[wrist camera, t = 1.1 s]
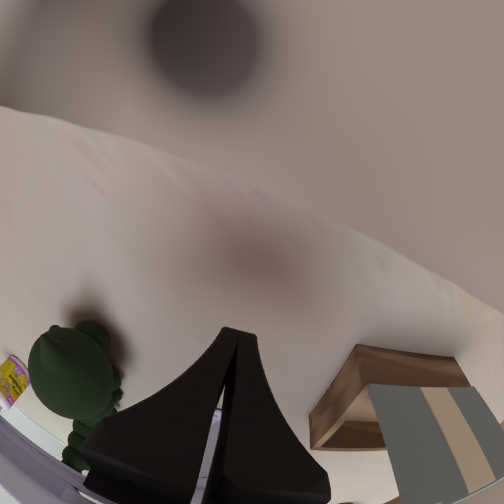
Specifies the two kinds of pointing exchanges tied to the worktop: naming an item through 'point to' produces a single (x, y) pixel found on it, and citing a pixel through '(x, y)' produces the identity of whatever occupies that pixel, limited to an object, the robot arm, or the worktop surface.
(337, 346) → the worktop surface
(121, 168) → the worktop surface
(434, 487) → the lid
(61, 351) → the toy figurine
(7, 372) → the supplement bottle
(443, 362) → the box
